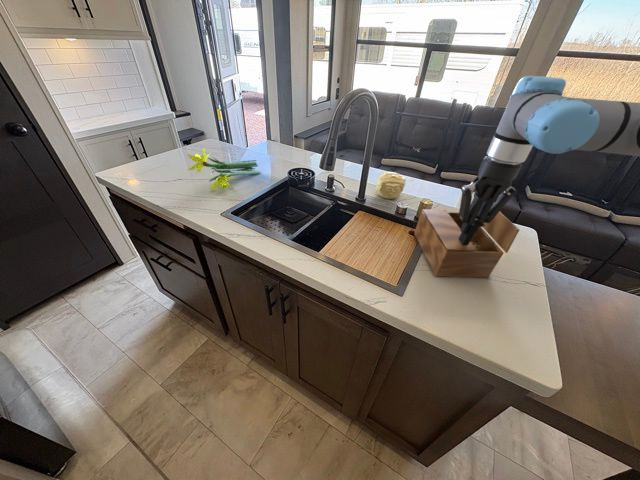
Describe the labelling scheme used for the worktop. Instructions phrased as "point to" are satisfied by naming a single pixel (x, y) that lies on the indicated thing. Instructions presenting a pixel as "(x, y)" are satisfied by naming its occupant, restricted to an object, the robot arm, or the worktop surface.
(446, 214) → the flap
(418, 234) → the wooden box
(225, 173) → the daffodil flowers
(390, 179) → the sculpture
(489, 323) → the worktop surface
